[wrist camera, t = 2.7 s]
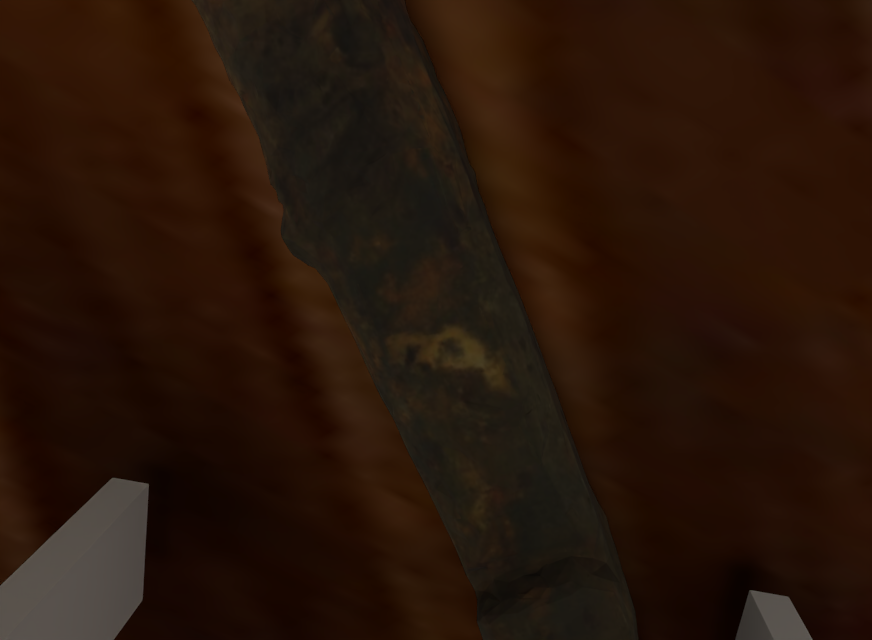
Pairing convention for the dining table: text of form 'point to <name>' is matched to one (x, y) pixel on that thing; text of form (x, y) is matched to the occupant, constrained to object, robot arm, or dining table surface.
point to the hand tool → (427, 300)
